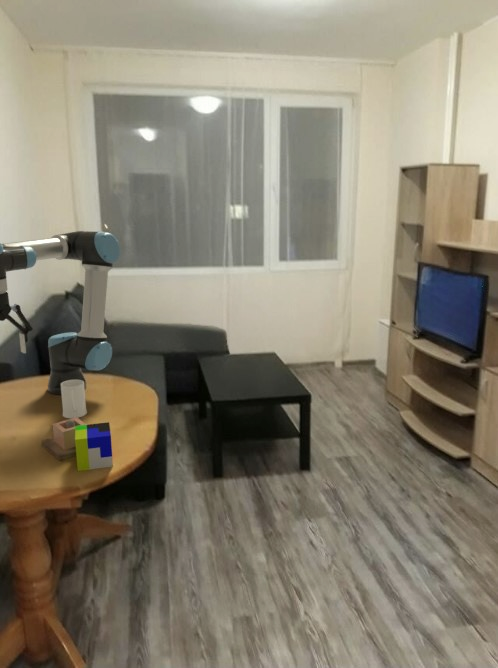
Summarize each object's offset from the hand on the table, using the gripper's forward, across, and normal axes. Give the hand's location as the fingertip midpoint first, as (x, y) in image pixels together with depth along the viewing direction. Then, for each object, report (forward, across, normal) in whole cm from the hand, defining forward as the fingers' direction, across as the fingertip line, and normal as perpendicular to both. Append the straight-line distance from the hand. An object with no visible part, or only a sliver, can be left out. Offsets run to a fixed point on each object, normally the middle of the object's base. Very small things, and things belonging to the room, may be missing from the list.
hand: (2, 356), depth 179 cm
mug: (+27, +22, -1) cm, 35 cm away
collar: (+25, +11, -24) cm, 36 cm away
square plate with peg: (+27, +11, -24) cm, 38 cm away
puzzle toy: (+27, +12, -38) cm, 48 cm away
